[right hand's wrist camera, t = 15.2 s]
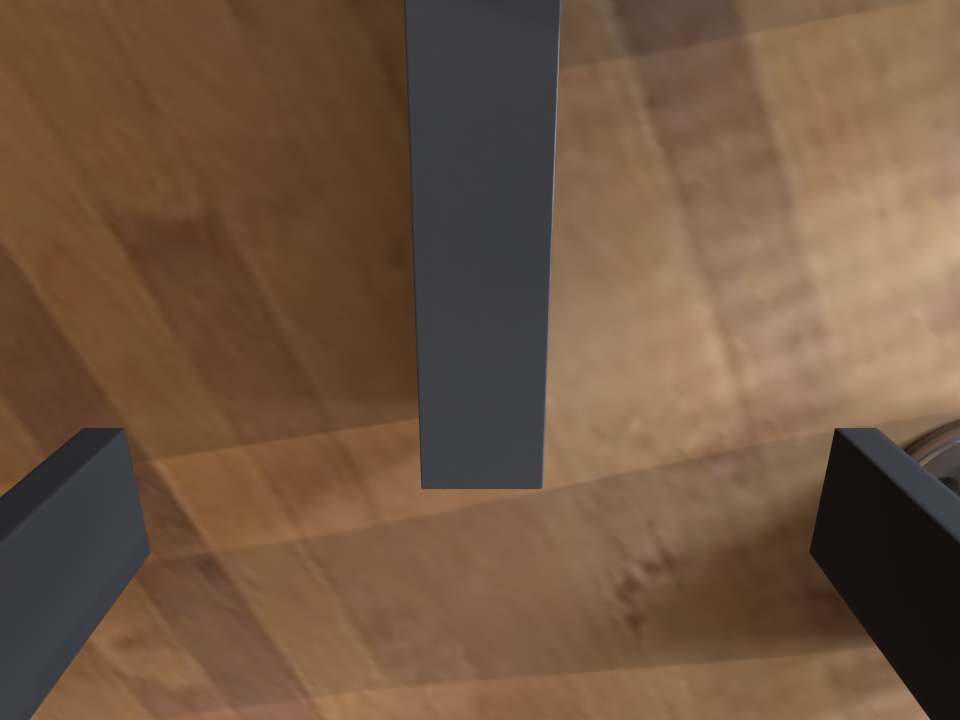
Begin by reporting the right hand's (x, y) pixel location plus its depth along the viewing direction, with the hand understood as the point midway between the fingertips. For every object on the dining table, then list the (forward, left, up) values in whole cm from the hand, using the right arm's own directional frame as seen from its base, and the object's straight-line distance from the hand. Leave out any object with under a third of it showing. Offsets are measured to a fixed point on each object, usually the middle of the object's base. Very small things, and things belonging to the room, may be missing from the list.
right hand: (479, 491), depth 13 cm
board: (-2, -18, -21) cm, 28 cm away
